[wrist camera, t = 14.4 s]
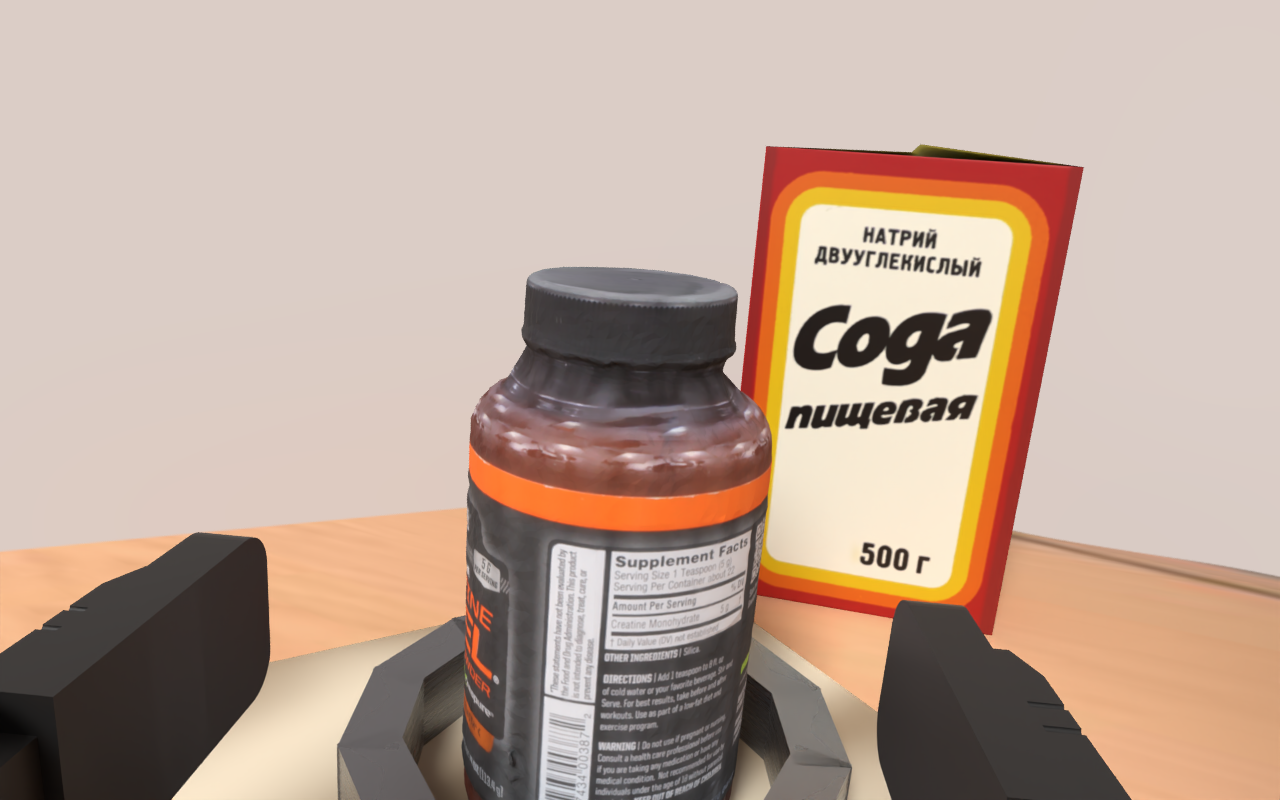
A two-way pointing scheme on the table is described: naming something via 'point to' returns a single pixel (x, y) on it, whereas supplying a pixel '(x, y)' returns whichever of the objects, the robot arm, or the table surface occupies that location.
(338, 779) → the ring collar
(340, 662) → the birch board
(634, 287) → the supplement bottle
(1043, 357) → the baking soda box
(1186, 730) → the table surface
